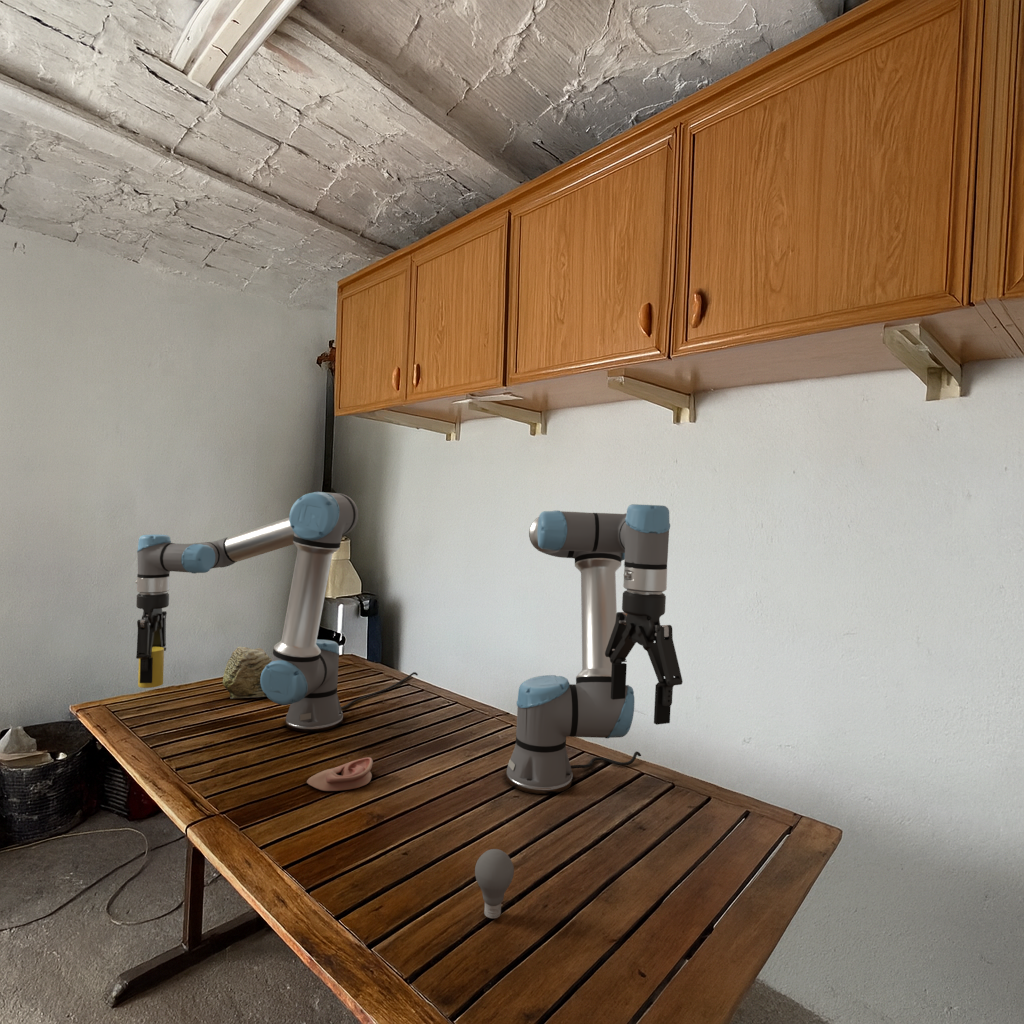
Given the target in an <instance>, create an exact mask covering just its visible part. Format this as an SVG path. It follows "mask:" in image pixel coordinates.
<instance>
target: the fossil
mask: <svg viewBox="0 0 1024 1024" xmlns="http://www.w3.org/2000/svg"><path fill="white" fill-rule="evenodd" d="M271 660H272V657H270V656H269V655H268V654H267V653H266V652H265V650H264V649H263V648H260V647H258V648H251V647H247V646H246V647H245V646H238V647H237V648H236V649H235V650H233V651H232V653H231V656H230V657H229V659H228V660H227V663H226V666H225V668H224V671H223V675H222V676H223V677H222V685H223V687H224V688H225V690H226V691H228V693H229V698H230V699H250V698H264V697H267V695H266V694H265V693H264V692H263V690H262V687H261V683H260V678H261V673H262V671H263V669H264V668H265V667H266V665H268V664H269V663H270V662H271Z"/></svg>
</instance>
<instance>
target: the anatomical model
mask: <svg viewBox="0 0 1024 1024" xmlns="http://www.w3.org/2000/svg"><path fill="white" fill-rule="evenodd" d="M373 763H374V761H373V758H372V757H370V756H368V757H362V758H359V759H356V760H352V761H350V762H346V763H344V764H341V765H339V766H336V767H332V768H328V769H325V770H322V771H319V772H317V773H315V774H314V775H311V777H309V778H308V779H306V784H308V786H311V787H313V788H314V789H317V790H319V791H322V792H338V791H348V790H353V789H357V788H360V787H364V786H366V785H367V784H369V783H370V782H371V780H372V779H373V774H372V772H371V770H372V767H373Z"/></svg>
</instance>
